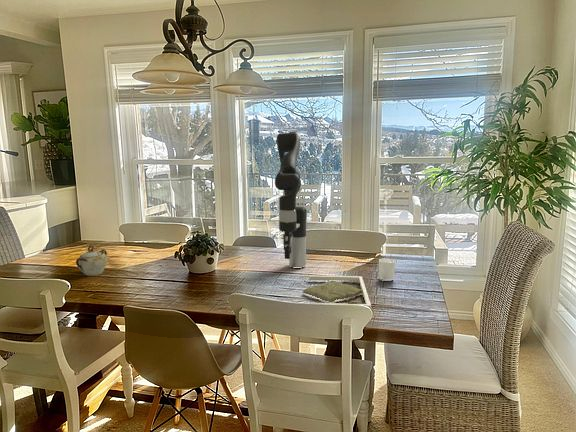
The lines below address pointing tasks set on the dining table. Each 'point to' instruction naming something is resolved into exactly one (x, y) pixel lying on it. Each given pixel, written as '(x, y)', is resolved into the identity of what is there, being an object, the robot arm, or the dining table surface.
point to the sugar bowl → (92, 262)
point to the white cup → (386, 268)
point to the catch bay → (365, 295)
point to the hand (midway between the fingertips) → (288, 255)
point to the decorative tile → (332, 291)
